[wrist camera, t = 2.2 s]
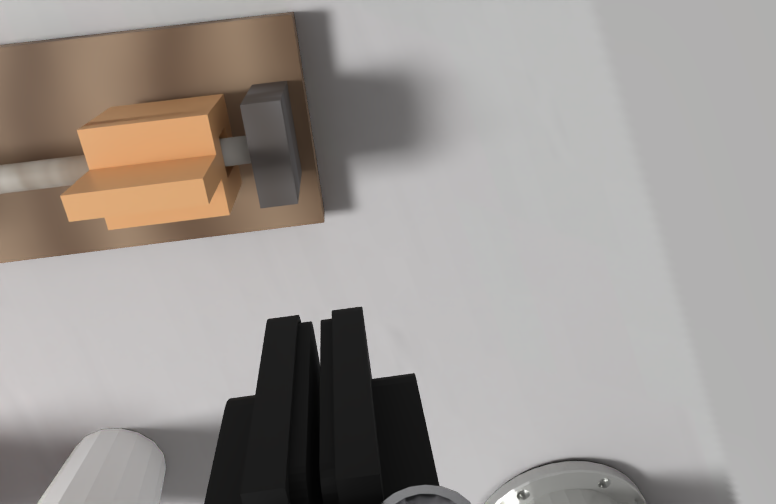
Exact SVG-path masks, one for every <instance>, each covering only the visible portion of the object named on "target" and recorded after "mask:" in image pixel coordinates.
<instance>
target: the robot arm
mask: <svg viewBox="0 0 776 504" xmlns="http://www.w3.org/2000/svg"><path fill="white" fill-rule="evenodd" d="M204 504H471V503H470V501H468V500H467V499H466V498H464V497H463V496H462V495H460V494H459V493H458V492H456V491H453V490H450V489H448V488H445V487H442V486H439V482H438V477H437V473H436V468H435V464H434V459H433V454H432V450H431V445H430V440H429V436H428V431H427V427H426V422H425V417H424V413H423V408H422V404H421V399H420V394H419V390H418V385H417V380H416V376H415V374H414V373H413V374H405V375H398V376H391V377H383V378H376V379H372V376H371V368H370V361H369V353H368V346H367V339H366V331H365V324H364V317H363V310H362V307H355V308H348V309H340V310H333V311H332V319H326V320H321V346H320V362H319V357H318V351H317V345H316V340H315V334H314V329H313V324H312V322H304V323H301V320H300V317H299V315H295V316H287V317H280V318H272V319H268V320H267V323H266V330H265V336H264V343H263V349H262V356H261V362H260V368H259V375H258V381H257V388H256V394H255V395H252V396H245V397H238V398H231V399H229V400H228V401H227V403H226V406H225V410H224V415H223V419H222V424H221V429H220V433H219V438H218V442H217V447H216V452H215V456H214V461H213V465H212V470H211V475H210V479H209V484H208V488H207V493H206V498H205V502H204ZM485 504H646V501H645V499H644V497H643V496H642V494H641V492H640V491H639V489H638V487H637V486H636V485H635V484H634V483H633V482H632V481H631V480H630V479H629V478H628V477H627V476H626V475H624V474H623V473H621V472H619V471H618V470H616V469H614V468H611V467H608V466H606V465H603V464H598V463H593V462H587V461H567V462H560V463H552V464H548V465H545V466H541V467H538V468H534V469H532V470H530V471H527V472H525V473H523V474H521V475H518V476H517V477H515V478H514V479H512V480H510V481H509V482H507V483H506V484H504V485H503V486H502V487H500V488H499V489H498V490H497V491H496V492H495V493H494V494H492V495H491V496H490V497H489V499H488V500H487V501H486V502H485Z"/></svg>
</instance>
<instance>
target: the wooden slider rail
mask: <svg viewBox="0 0 776 504" xmlns="http://www.w3.org/2000/svg"><path fill="white" fill-rule="evenodd" d="M217 94H224V98H225V103H226V108H227V113H228V117H229V122H230V127H231V132H232V137H229V138H221V139H219V140H220V145H221V149H222V154H223V158H224V163H225V167H226V166H234V165H239V170H240V175H241V180H242V184H241V187H240V190H239V192H238V195H237V197H236V200H235V203H234V205H233V208H232V211H231V213H230V215H226V216H218V217H210V218H202V219H194V220H186V221H178V222H170V223H162V224H154V225H146V226H138V227H130V228H122V229H114V230H108V228H107V224H106V221H105V218H97V219H89V220H81V221H73V222H69V220H68V217H67V214H66V212H65V209H64V206H63V203H62V200H61V197H60V195H62V194H63V193H64V192H65V191H66V190H67V189H68V188H69V187H71V186H72V185H73V184H74V183H75V182H76V181H77V180H78V179H80V178H81V177H82V176H83V175H84V174H85V173H86V172H88V171H89V168H88V164H87V161H86V158H85V155H84V152H83V149H82V145H81V142H80V139H79V136H78V133H77V130H78V129H79V128H81V127H82V126H83V125H85V124H86V123H88V122H89V121H91V120H92V119H94V118H95V117H97V116H98V115H100V114H101V113H103V112H104V111H105V110H107V109H108V108H110V107H115V106H123V105H132V104H140V103H149V102H157V101H166V100H174V99H183V98H191V97H200V96H208V95H217ZM323 222H324V206H323V200H322V193H321V187H320V180H319V174H318V167H317V161H316V154H315V148H314V141H313V135H312V128H311V122H310V115H309V109H308V102H307V96H306V89H305V83H304V76H303V70H302V63H301V56H300V50H299V43H298V37H297V30H296V24H295V17H294V12H288V13H279V14H270V15H262V16H253V17H244V18H235V19H226V20H217V21H208V22H200V23H191V24H182V25H173V26H164V27H155V28H147V29H138V30H129V31H120V32H111V33H102V34H94V35H85V36H76V37H67V38H58V39H49V40H41V41H32V42H23V43H14V44H5V45H0V263H5V262H13V261H21V260H29V259H37V258H45V257H53V256H61V255H69V254H77V253H85V252H93V251H100V250H108V249H116V248H124V247H132V246H140V245H148V244H156V243H164V242H172V241H180V240H188V239H196V238H204V237H212V236H220V235H228V234H236V233H244V232H252V231H260V230H268V229H276V228H283V227H291V226H299V225H307V224H315V223H323Z"/></svg>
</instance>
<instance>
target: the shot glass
mask: <svg viewBox="0 0 776 504" xmlns="http://www.w3.org/2000/svg"><path fill="white" fill-rule="evenodd" d="M165 471H166V464H165V459H164V454H163V453H162V451H161V450H160V449H159V448H158V446H157V445H156V444H155V442H154V441H152V440H150V439H149V438H147V437H145V436H144V435H142V434H140V433H138V432H134V431H130V430H126V429H121V428H117V429H102V430H99V431H97V432H94V433H92V434H90V435H87V436H85V437H84V439H83V440H82V441H81V442H80V443H79V444H78V445H77V446H76V447H75V448H74V450H73V451H72V453H71V454H70V456H69V457H68V459H67V460H66V462H65V463H64V464H63V466H62V467H61V469H60V470H59V472H58V473H57V475H56V476H55V478H54V479H53V481H52V482H51V484H50V485H49V487H48V488H47V490H46V491H45V493H44V494H43V496H42V497H41V498H40V500H39V501H38V503H37V504H159V503H160V498H161V492H162V487H163V482H164V477H165Z"/></svg>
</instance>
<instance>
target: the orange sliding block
mask: <svg viewBox="0 0 776 504" xmlns="http://www.w3.org/2000/svg"><path fill="white" fill-rule="evenodd" d="M77 133H78V136H79V139H80V142H81V145H82V149H83V152H84V155H85V158H86V161H87V164H88V168H89V171H88V172H86V173H85V174H84V175H83V176H82V177H81V178H80V179H78V180H77V181H76V182H75V183H74V184H73V185H72V186H71V187H69V188H68V189H67V190H66V191H65V192H64V193H63V194H62V195H60V197H61V200H62V203H63V206H64V209H65V212H66V214H67V217H68V220H69V222H73V221H81V220H89V219H97V218H105V221H106V224H107V228H108V230H114V229H122V228H130V227H138V226H146V225H154V224H162V223H170V222H178V221H186V220H194V219H202V218H210V217H218V216H226V215H230V213H231V211H232V208H233V205H234V203H235V200H236V197H237V195H238V192H239V190H240V187H241V184H242V180H241V175H240V170H239V165H234V166H226V167H225V163H224V158H223V154H222V149H221V145H220V140H219V139H221V138H229V137H232V132H231V127H230V122H229V117H228V113H227V108H226V103H225V98H224V94H217V95H208V96H200V97H191V98H183V99H174V100H166V101H157V102H149V103H140V104H132V105H123V106H115V107H110V108H108V109H107V110H105V111H104V112H103V113H101V114H100V115H98V116H97V117H95V118H94V119H92V120H91V121H89V122H88V123H86V124H85V125H83V126H82V127H81V128H79V129H78V130H77Z"/></svg>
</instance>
